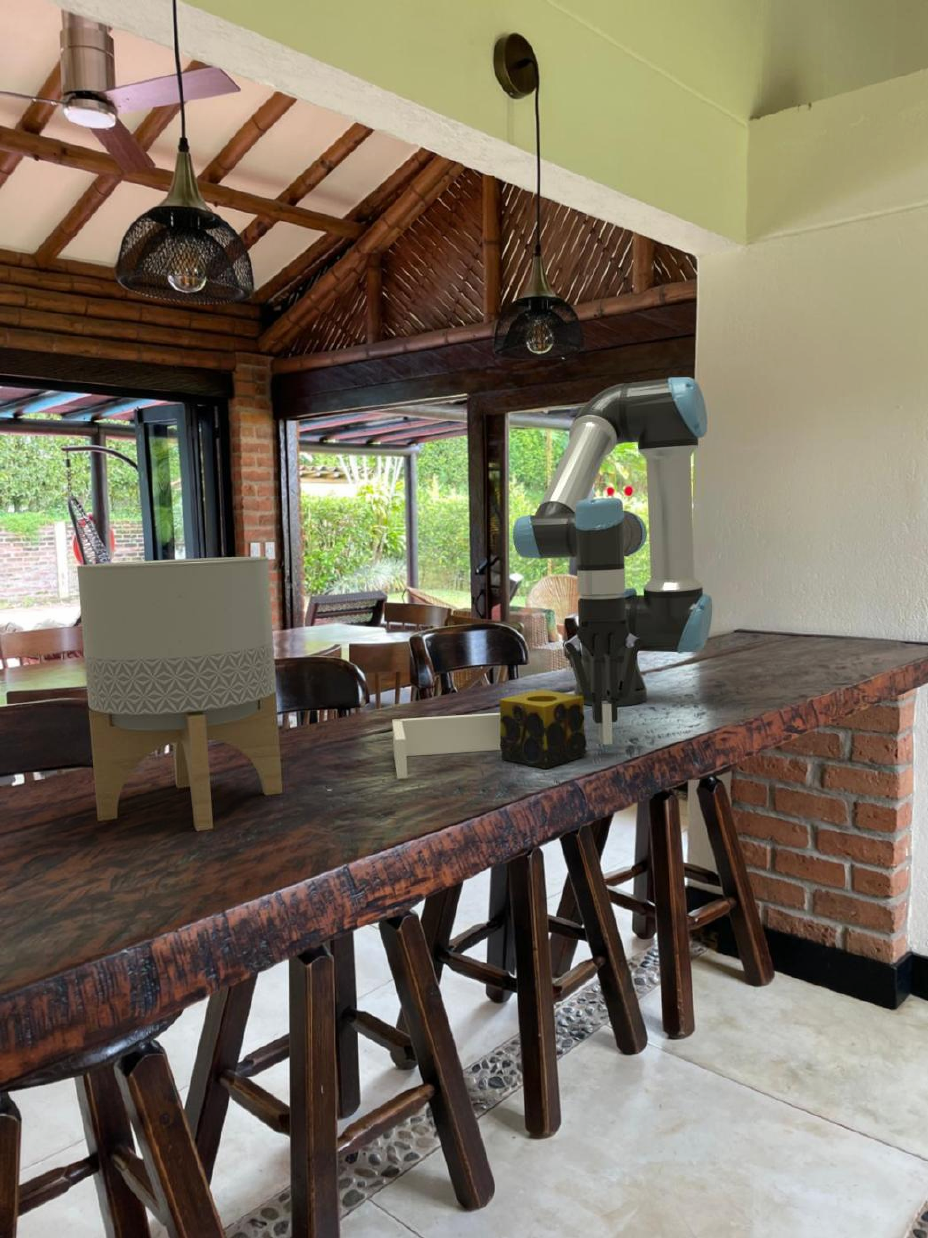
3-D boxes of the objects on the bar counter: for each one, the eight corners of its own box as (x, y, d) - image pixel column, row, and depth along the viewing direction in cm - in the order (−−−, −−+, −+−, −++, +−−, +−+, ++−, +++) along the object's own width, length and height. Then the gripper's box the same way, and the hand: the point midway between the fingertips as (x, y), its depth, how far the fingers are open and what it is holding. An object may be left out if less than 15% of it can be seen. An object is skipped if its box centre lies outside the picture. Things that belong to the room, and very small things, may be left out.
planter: (100, 847, 110) (77, 567, 107) (95, 796, 133) (76, 564, 130) (300, 814, 120) (285, 557, 117) (264, 772, 143) (250, 555, 139)
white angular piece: (511, 746, 153) (510, 712, 152) (528, 769, 138) (526, 731, 137) (393, 754, 150) (392, 719, 150) (397, 778, 136) (395, 739, 135)
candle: (541, 747, 151) (539, 689, 150) (588, 756, 144) (586, 695, 143) (498, 759, 144) (496, 698, 143) (546, 770, 137) (544, 705, 136)
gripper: (633, 592, 147) (637, 734, 149) (556, 597, 146) (561, 740, 148) (648, 595, 140) (652, 744, 142) (567, 600, 138) (571, 750, 140)
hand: (605, 742), depth 145 cm, fingers closed
